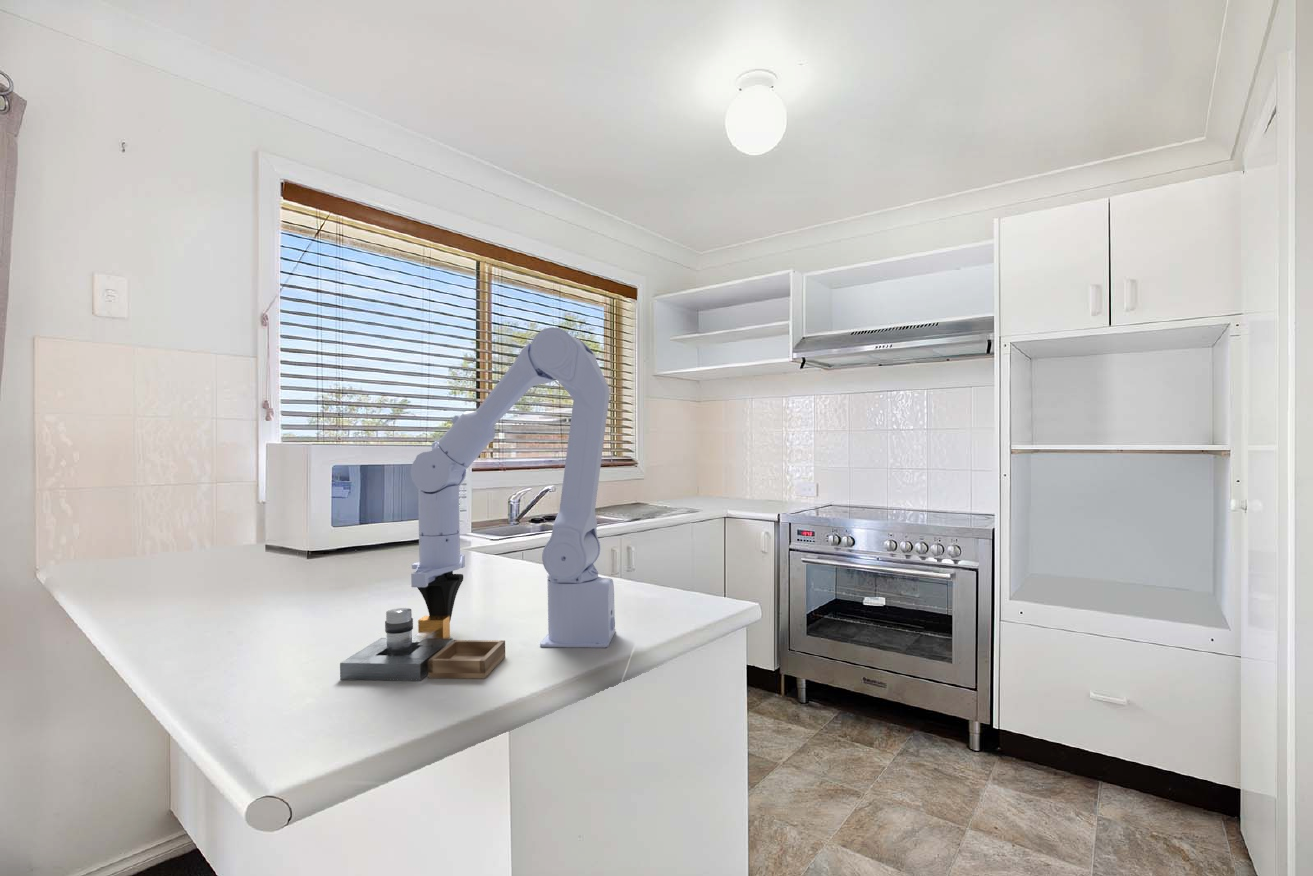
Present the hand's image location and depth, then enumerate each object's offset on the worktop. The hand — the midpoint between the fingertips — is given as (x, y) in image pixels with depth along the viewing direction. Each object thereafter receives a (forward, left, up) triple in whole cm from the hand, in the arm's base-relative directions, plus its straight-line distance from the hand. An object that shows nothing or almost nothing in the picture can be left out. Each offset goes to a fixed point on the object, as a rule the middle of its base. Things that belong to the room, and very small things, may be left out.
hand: (441, 626), depth 97 cm
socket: (0, +13, -1) cm, 13 cm away
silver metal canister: (0, +13, -1) cm, 13 cm away
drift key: (0, +5, -1) cm, 5 cm away
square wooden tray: (-9, +13, -1) cm, 16 cm away
